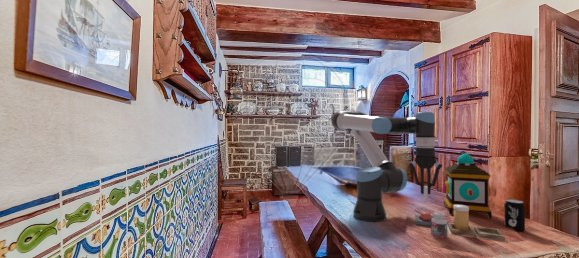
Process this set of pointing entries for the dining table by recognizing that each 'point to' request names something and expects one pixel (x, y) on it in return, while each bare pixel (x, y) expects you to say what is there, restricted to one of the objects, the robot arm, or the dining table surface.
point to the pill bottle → (439, 226)
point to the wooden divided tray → (478, 233)
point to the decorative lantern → (467, 186)
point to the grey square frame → (422, 221)
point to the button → (425, 216)
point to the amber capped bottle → (461, 217)
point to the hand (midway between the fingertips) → (425, 201)
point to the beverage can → (514, 214)
